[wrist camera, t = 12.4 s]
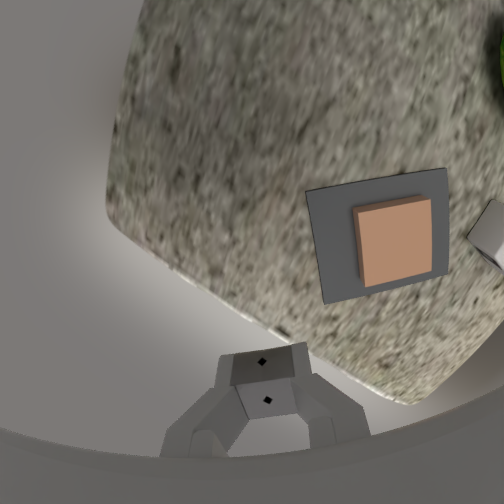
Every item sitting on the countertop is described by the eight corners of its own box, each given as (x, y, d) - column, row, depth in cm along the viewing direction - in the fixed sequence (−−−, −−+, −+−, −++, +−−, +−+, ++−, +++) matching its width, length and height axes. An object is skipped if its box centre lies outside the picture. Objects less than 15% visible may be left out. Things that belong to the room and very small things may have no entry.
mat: (305, 191, 37) (305, 192, 37) (444, 167, 35) (446, 168, 34) (323, 302, 43) (324, 304, 42) (446, 272, 41) (447, 274, 40)
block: (358, 213, 35) (430, 199, 34) (351, 207, 37) (421, 194, 36) (365, 287, 38) (431, 270, 37) (359, 278, 41) (423, 262, 40)
